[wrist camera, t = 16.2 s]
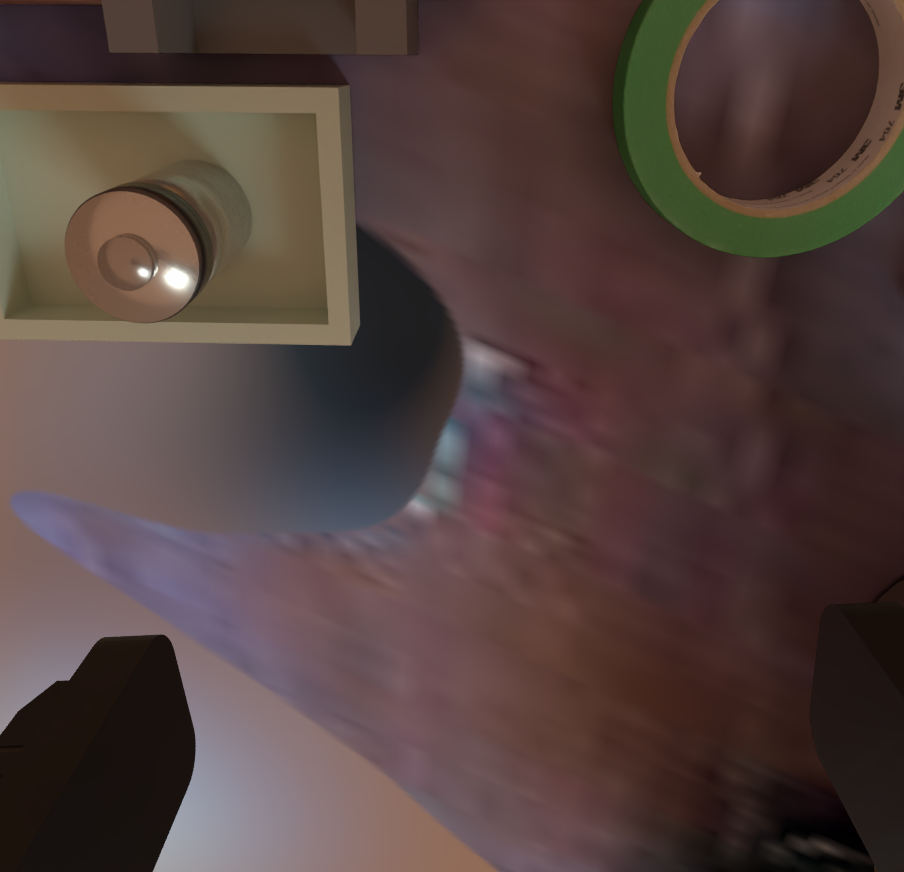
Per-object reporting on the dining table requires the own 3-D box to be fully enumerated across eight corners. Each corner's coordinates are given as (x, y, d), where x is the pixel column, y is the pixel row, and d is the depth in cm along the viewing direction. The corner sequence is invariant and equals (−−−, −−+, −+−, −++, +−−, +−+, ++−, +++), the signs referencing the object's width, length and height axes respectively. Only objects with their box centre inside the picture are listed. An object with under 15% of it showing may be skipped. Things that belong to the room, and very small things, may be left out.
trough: (359, 324, 33) (350, 345, 31) (23, 319, 33) (-12, 339, 31) (349, 85, 29) (338, 87, 27) (-32, 81, 29) (-76, 83, 27)
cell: (245, 157, 30) (181, 192, 23) (259, 267, 32) (203, 329, 25) (135, 159, 30) (38, 194, 23) (155, 268, 32) (71, 331, 25)
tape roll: (827, -177, 26) (864, -202, 23) (979, 109, 29) (1024, 114, 27) (549, 67, 29) (555, 68, 26) (715, 299, 32) (734, 318, 30)
